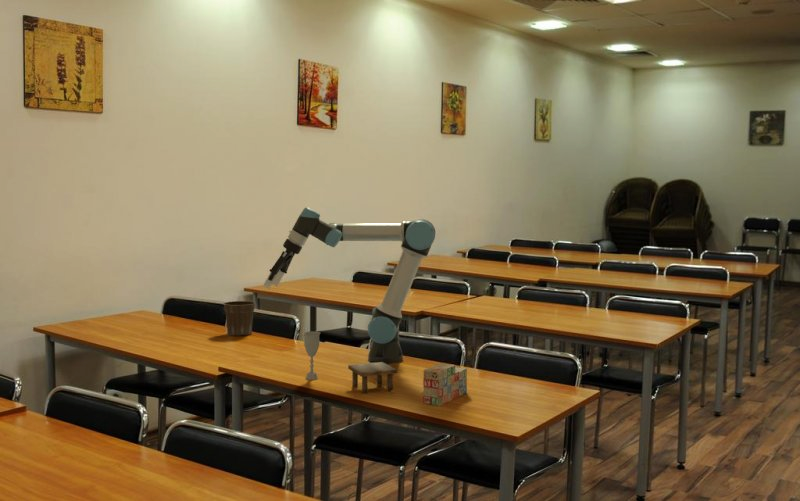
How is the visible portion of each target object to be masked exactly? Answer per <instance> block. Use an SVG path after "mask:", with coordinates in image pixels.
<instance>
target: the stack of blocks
mask: <svg viewBox="0 0 800 501" xmlns="http://www.w3.org/2000/svg"><path fill="white" fill-rule="evenodd" d="M467 369H468V368H465V367H457V366H456V364H451V363H450V364H448V363H442V362H439V363H438V364H435V365H433V366H431V367H427V368H425V369H423V381H422V383H423V386H422V387H423V395H422V396H423V397H422V398H423V401H422V402H423V404H424V405H431V406H436V407H440V406H442V405H444V404H446V403H449V402H451V401H452V400H454V399H456V398H458V397H461V396H462V395H465V394H467V391H468V382H467V381H468V377H467V372H468V371H467Z"/></svg>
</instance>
